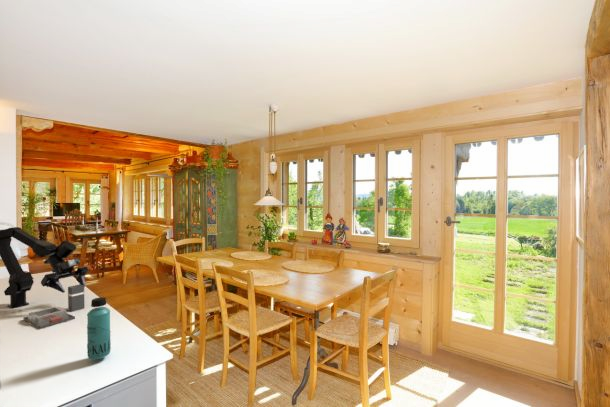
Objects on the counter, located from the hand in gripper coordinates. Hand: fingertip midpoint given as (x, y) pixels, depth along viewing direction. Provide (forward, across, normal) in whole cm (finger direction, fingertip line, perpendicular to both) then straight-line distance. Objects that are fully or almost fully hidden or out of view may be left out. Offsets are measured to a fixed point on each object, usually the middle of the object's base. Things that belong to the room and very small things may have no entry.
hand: (74, 289), depth 147 cm
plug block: (+8, 0, +6) cm, 9 cm away
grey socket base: (+9, -13, +5) cm, 16 cm away
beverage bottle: (+47, -28, -33) cm, 63 cm away
